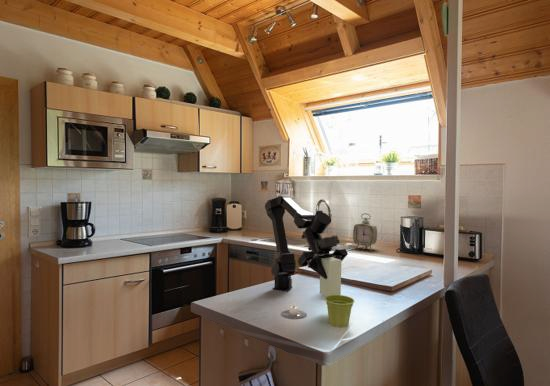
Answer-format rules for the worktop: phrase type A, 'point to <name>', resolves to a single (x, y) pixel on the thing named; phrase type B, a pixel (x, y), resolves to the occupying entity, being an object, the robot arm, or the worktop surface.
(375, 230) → the tabletop clock
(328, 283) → the cover
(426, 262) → the worktop surface
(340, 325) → the plant pot
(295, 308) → the tea light
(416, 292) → the worktop surface
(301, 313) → the saucer
